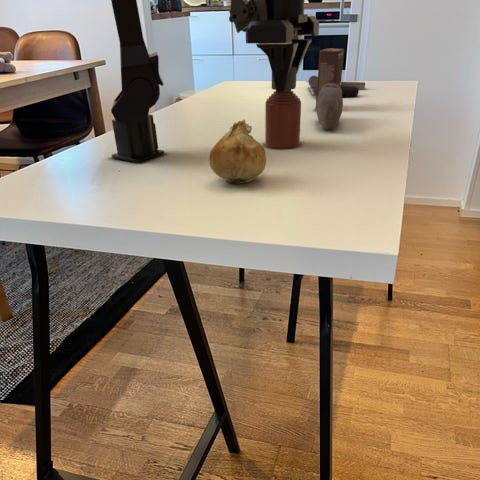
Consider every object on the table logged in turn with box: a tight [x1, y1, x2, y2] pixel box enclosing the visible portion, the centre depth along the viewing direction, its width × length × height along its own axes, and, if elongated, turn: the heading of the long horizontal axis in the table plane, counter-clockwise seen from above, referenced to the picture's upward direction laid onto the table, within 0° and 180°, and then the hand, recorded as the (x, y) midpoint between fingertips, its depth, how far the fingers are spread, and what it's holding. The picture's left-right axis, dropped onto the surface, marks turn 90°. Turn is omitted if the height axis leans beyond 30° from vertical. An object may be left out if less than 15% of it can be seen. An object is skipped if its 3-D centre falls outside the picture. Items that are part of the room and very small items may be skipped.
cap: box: [271, 66, 297, 91], centre depth 79 cm, size 4×4×3 cm
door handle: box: [305, 75, 366, 98], centre depth 130 cm, size 3×20×16 cm
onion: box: [208, 118, 267, 185], centre depth 66 cm, size 8×8×8 cm
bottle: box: [264, 89, 302, 150], centre depth 81 cm, size 6×6×12 cm
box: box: [315, 47, 345, 111], centre depth 107 cm, size 6×4×12 cm
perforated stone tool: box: [315, 83, 344, 130], centre depth 94 cm, size 15×5×7 cm, turn 168°
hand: (284, 89), depth 80 cm, fingers closed on cap, 4 cm apart
